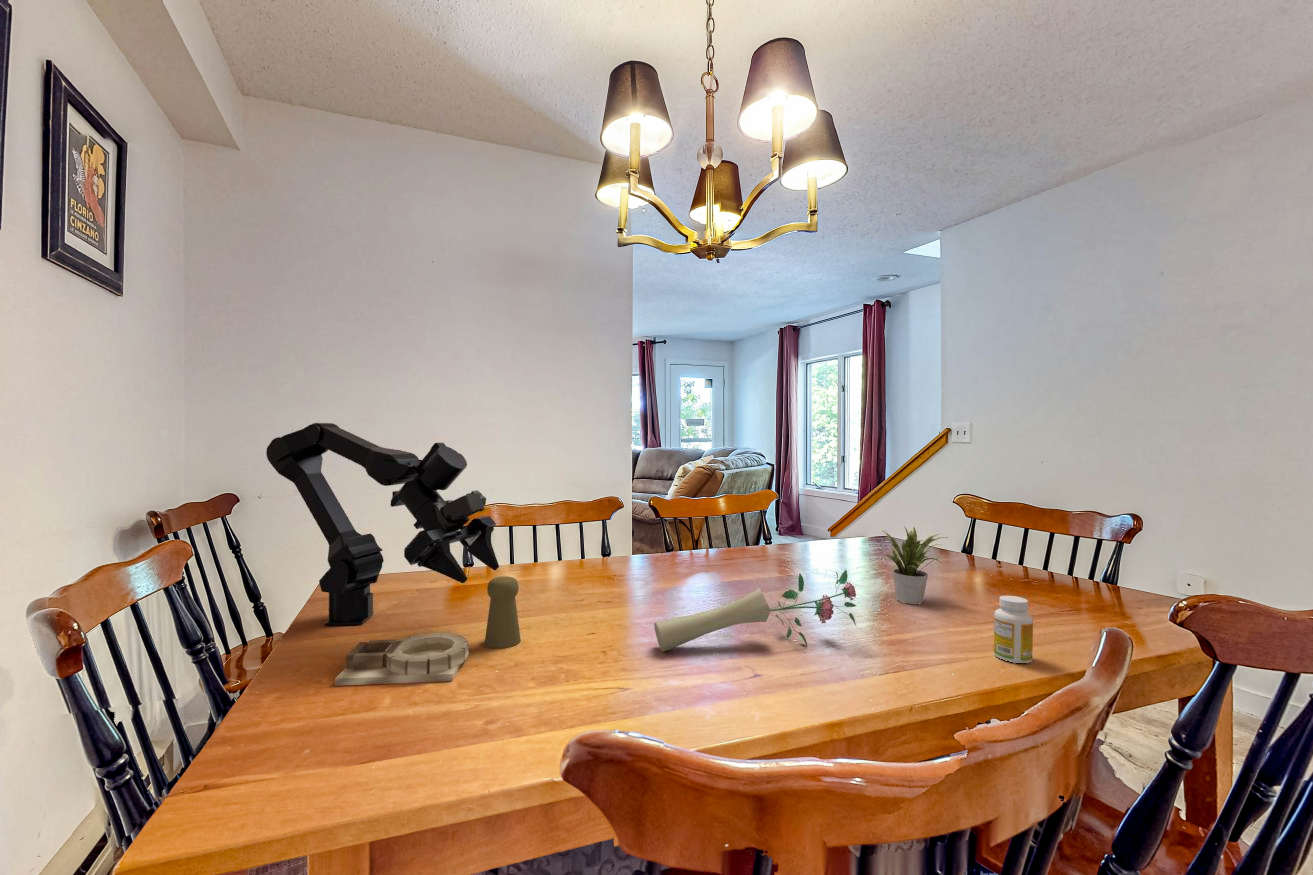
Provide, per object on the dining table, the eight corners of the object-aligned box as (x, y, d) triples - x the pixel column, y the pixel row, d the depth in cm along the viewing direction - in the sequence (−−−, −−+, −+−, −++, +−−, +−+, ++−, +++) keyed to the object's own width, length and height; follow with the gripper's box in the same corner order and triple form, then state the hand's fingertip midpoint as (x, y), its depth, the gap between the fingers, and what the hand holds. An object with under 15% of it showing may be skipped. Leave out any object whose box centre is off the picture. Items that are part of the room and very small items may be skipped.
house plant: (964, 613, 117) (965, 533, 117) (895, 612, 117) (896, 532, 117) (931, 593, 132) (933, 521, 131) (870, 592, 132) (871, 521, 132)
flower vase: (666, 686, 100) (844, 626, 108) (681, 696, 88) (879, 628, 96) (647, 617, 103) (822, 564, 111) (660, 617, 91) (854, 558, 99)
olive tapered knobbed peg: (511, 649, 96) (511, 583, 96) (477, 646, 97) (478, 581, 97) (526, 637, 102) (527, 574, 101) (494, 634, 103) (495, 572, 103)
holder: (334, 685, 82) (334, 664, 82) (366, 652, 94) (366, 634, 94) (458, 680, 84) (458, 659, 84) (474, 649, 96) (474, 631, 96)
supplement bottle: (1027, 654, 96) (1028, 595, 96) (1036, 666, 91) (1037, 605, 91) (990, 649, 98) (991, 592, 98) (997, 661, 93) (998, 601, 93)
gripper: (418, 481, 93) (477, 555, 90) (487, 473, 111) (538, 534, 107) (379, 527, 95) (435, 601, 92) (452, 512, 113) (501, 573, 110)
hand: (481, 574), depth 100 cm, fingers open, 9 cm apart
